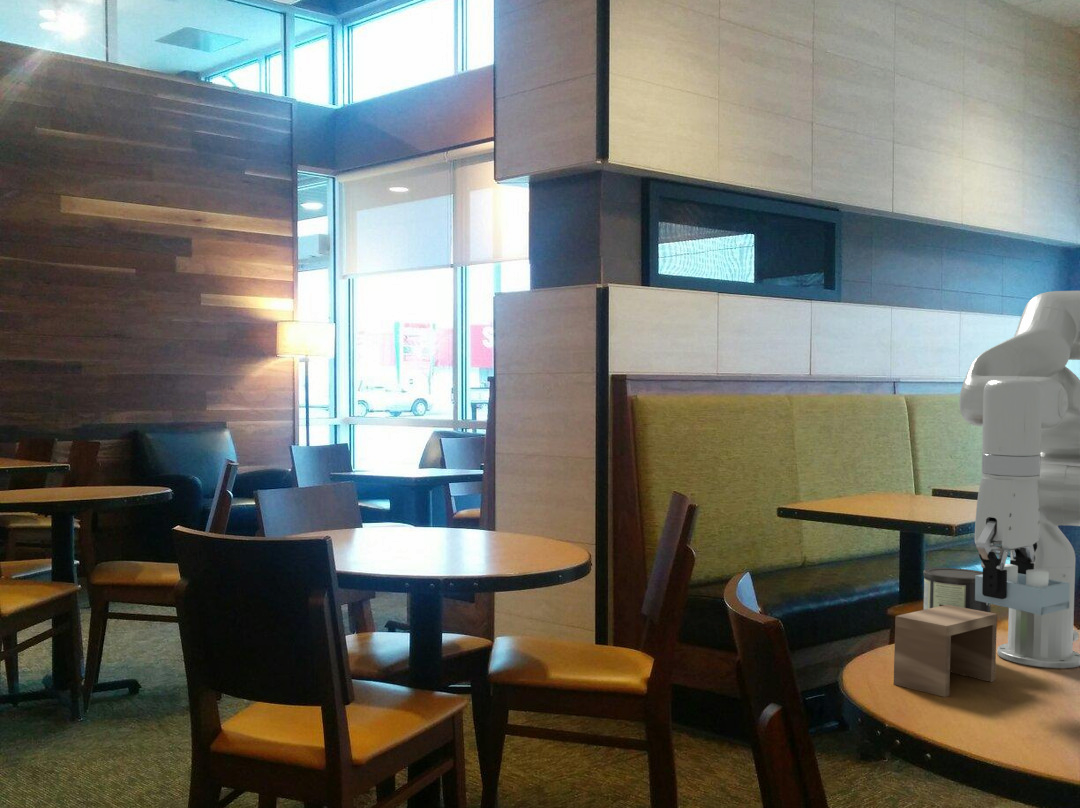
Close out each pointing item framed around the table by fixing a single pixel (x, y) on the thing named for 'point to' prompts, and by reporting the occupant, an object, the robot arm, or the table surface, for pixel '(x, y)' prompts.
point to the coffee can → (952, 589)
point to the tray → (1029, 591)
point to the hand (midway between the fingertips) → (1008, 592)
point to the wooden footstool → (943, 647)
